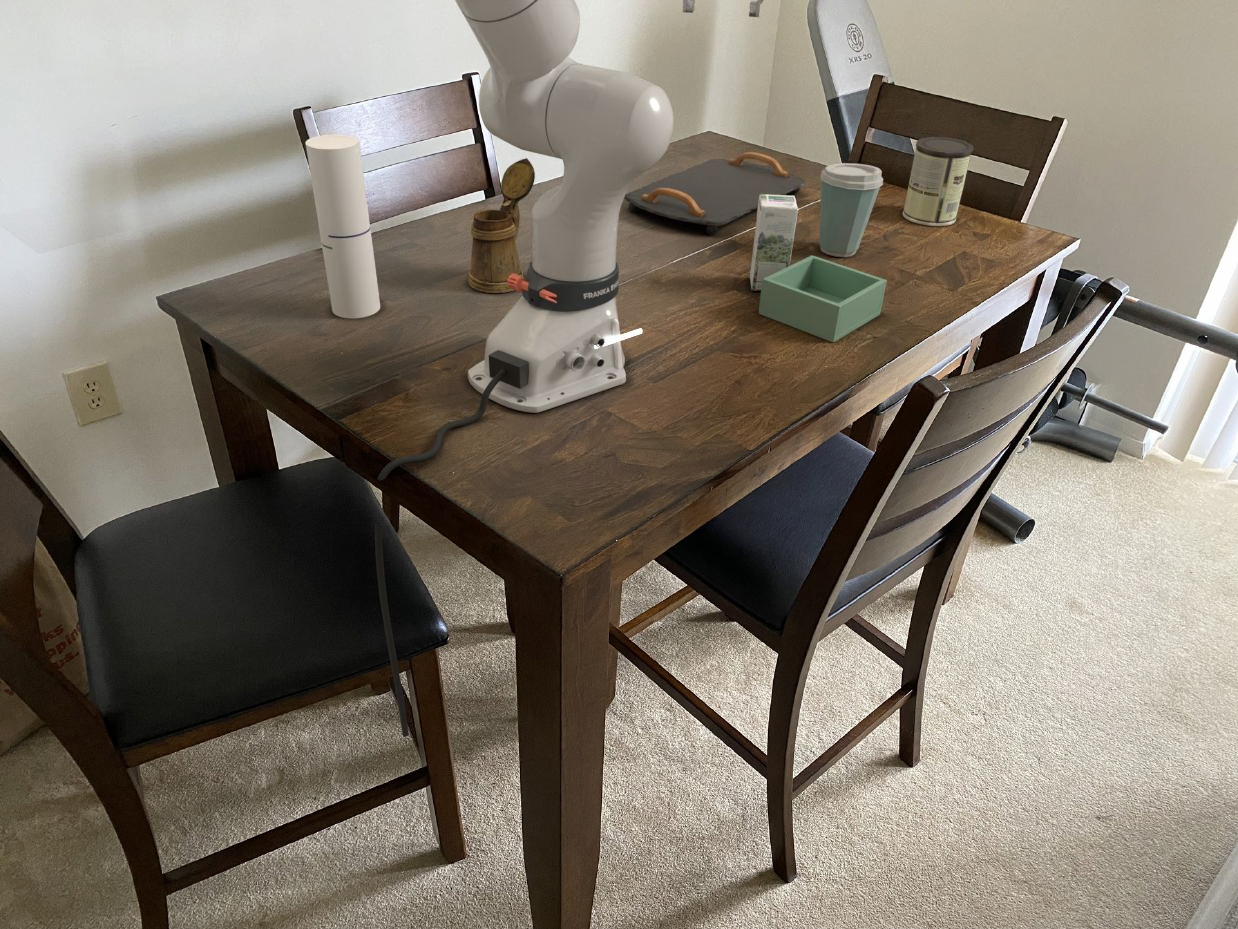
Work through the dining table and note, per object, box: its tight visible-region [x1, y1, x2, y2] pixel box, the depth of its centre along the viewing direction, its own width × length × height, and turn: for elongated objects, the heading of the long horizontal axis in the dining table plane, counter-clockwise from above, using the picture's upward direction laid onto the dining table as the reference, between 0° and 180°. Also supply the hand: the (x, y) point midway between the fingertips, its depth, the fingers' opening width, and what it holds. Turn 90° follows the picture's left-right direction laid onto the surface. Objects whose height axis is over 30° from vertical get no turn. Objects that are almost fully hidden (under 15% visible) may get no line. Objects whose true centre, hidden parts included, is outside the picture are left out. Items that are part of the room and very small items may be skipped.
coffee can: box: [902, 136, 974, 227], centre depth 179 cm, size 10×10×14 cm
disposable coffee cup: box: [818, 162, 884, 258], centre depth 163 cm, size 11×11×15 cm
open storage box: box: [758, 255, 888, 343], centre depth 144 cm, size 14×14×6 cm
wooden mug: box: [467, 157, 536, 294], centre depth 149 cm, size 9×14×18 cm, turn 146°
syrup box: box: [749, 194, 799, 292], centre depth 150 cm, size 6×6×14 cm
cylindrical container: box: [305, 133, 381, 319], centre depth 136 cm, size 7×7×25 cm
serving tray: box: [623, 151, 807, 237], centre depth 185 cm, size 39×23×6 cm, turn 142°
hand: (721, 14), depth 133 cm, fingers open, 8 cm apart
